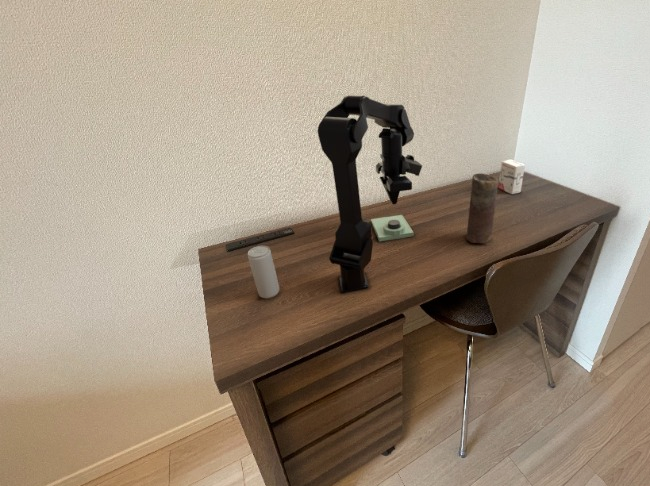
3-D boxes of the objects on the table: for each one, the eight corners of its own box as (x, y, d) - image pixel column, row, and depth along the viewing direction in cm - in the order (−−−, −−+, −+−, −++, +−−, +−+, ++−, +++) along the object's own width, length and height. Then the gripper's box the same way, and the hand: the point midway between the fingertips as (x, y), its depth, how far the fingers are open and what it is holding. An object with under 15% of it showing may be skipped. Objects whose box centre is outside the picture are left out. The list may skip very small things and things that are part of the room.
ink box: (497, 187, 135) (500, 160, 130) (506, 185, 137) (510, 158, 132) (511, 194, 128) (516, 166, 123) (521, 192, 130) (525, 164, 125)
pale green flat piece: (413, 236, 100) (413, 228, 98) (379, 242, 97) (379, 233, 96) (402, 218, 111) (402, 210, 110) (371, 222, 109) (370, 214, 107)
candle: (473, 230, 103) (479, 170, 93) (495, 237, 98) (503, 175, 89) (461, 240, 97) (467, 177, 88) (484, 248, 93) (491, 183, 84)
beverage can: (273, 300, 74) (262, 258, 69) (254, 298, 75) (242, 255, 70) (283, 287, 79) (274, 246, 73) (266, 285, 79) (255, 244, 74)
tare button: (401, 229, 99) (401, 224, 98) (389, 230, 98) (389, 225, 97) (398, 223, 102) (397, 218, 101) (387, 225, 101) (386, 220, 100)
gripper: (431, 157, 83) (429, 211, 90) (409, 141, 99) (409, 188, 106) (389, 162, 80) (391, 217, 88) (374, 144, 96) (376, 192, 104)
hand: (393, 202), depth 96 cm, fingers closed
